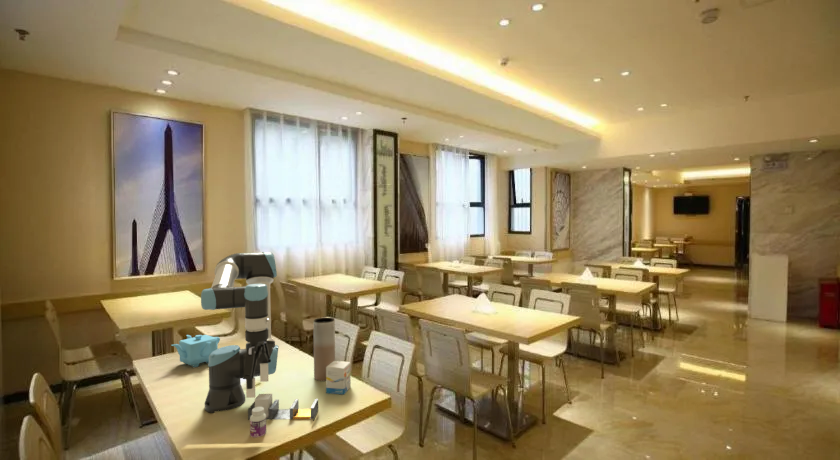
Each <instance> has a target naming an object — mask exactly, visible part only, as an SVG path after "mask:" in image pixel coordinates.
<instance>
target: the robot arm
mask: <svg viewBox="0 0 840 460" xmlns="http://www.w3.org/2000/svg"><path fill="white" fill-rule="evenodd" d="M277 276H278V273H277V264H276V260H275V255H274V254H273V253H272V252H267V251H265V252H264V251H262V252H261V251H260V252H236V253H233V254H230V255H227V256H225V257H223V258H222V259H221V260H219V262H217V263H216V266H215V267H214V279H213V281H212V284H211V287H209V288H204V289H203V290H202V291H201V294H200V305H201V308H202V309H203V311H204V310H205V311H208V310H209V311H215V310H223V309H224V310H226V309H237V308H239V309H240V308H244V330H245V335H244V336H245V337H244V339H245V341H246V343H245V348H241V347H240V345H237V344H233V345H232V344H231V345H226V346H221V347H218V349H217V350H214V351H213V352H212V353H211V354H210V355H209V363H207V366H208V391H207V395H206V398H205V402H204V411H206V412H207V413H210V414H214V413H216V412H225V411H230V410H234V409H235V408H238V407H240V406H242V405H243V404H244V403H245V402H246V398H247V399H249V398H252V399H253V398H254V399H256V377H259V378H260V379H259V380H260V382H261V383H263V382H266V383H268V382H269V375H273V374H275V373H276V371H277V365H278V356H279V345H277V344H276V341H275V340H274V338H272V319H271V318H272V317H271V316H272V312H271V310H272V309H271V305H272V303H271V284H272V283H273V282H274V281H275V280H274V278H277ZM244 279H245V282H246V284H247V285H246V286H235V287H234V285H235V280H244ZM241 379H243V380H245V391H246V394H245V392H244V389H243V387H242V385H241Z"/></svg>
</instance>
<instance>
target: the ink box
mask: <svg viewBox="0 0 840 460" xmlns="http://www.w3.org/2000/svg"><path fill="white" fill-rule="evenodd" d="M351 383H352V382H351V362H350V361H344V360H335V361H333V362H332V363H331V364H329V365H328V366H327V367H326V381H325V384H326V385H325V391H326V392H325V393H326V394H332V395H346V393H347V392H348V390H350V389H351Z"/></svg>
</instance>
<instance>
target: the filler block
mask: <svg viewBox="0 0 840 460" xmlns="http://www.w3.org/2000/svg"><path fill="white" fill-rule="evenodd" d="M254 401H255V407H263V408H264V413H265V414H266V418H268V417H269V408H270V407H271V405H272V404H273V393H259V394H258V395H257V396H255V398H254Z"/></svg>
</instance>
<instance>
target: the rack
mask: <svg viewBox="0 0 840 460" xmlns="http://www.w3.org/2000/svg"><path fill="white" fill-rule="evenodd" d="M279 402H280V399H274V400H273V402H272V405H271V407H270V408H269V417H268V418H266V421H267V420H268V421H269V420H311V419H313V420H312V421H313V422H315V419H316V417H317V416H318V413H319V399H318V398H315V399H314V400H313V402H312V404H311V406H310V408H299V407H300V406H299V399H298V398H296V399H294V401H293V402H292V404H291V405H290V408H287V409H280V406H279V405H280V403H279ZM253 408H255V400H254V401H253V403H252V404H251V405H250V406H249V407H248V409H247V414H248V415H247V416H248V417H247V419H248V421H250V417H251V415H252V409H253Z"/></svg>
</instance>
